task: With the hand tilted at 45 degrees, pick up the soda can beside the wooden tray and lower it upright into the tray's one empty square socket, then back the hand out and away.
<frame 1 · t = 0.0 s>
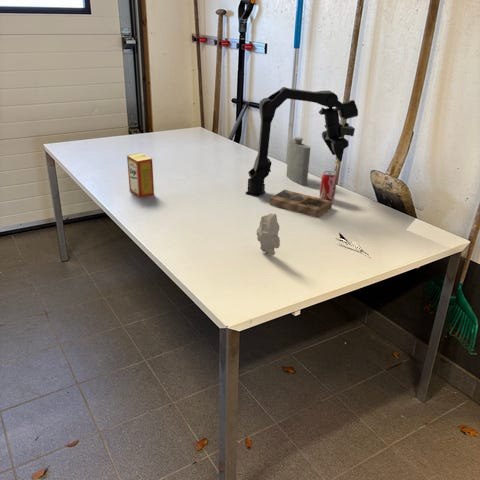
hand: (337, 158, 205), 15 cm above the table, tool pointing down, fingers open, 9 cm apart
wooden tray: (300, 206, 195), on the table
soda can: (326, 200, 203), on the table
baking soda box: (141, 193, 204), on the table
hip flask: (295, 180, 224), on the table
grey figurine: (266, 254, 158), on the table
toy airplane: (349, 246, 166), on the table
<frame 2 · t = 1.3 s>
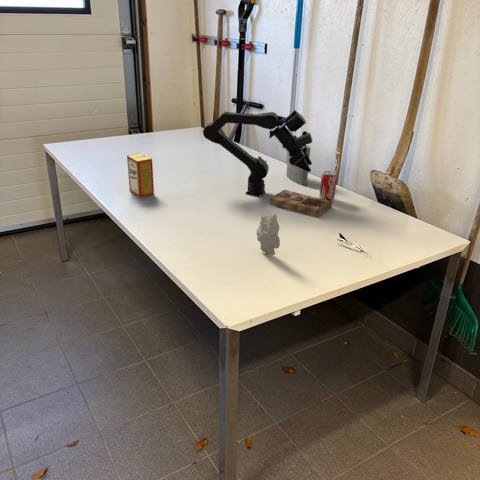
hand: (310, 167, 198), 13 cm above the table, tool tilted 45°, fingers open, 9 cm apart
nothing on the table moved.
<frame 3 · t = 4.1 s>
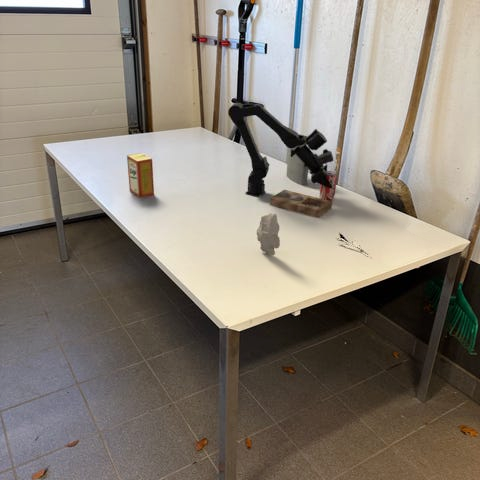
hand: (331, 185, 200), 7 cm above the table, tool tilted 45°, fingers closed on soda can, 6 cm apart
soda can: (326, 200, 203), on the table, touching gripper
everything else where it was.
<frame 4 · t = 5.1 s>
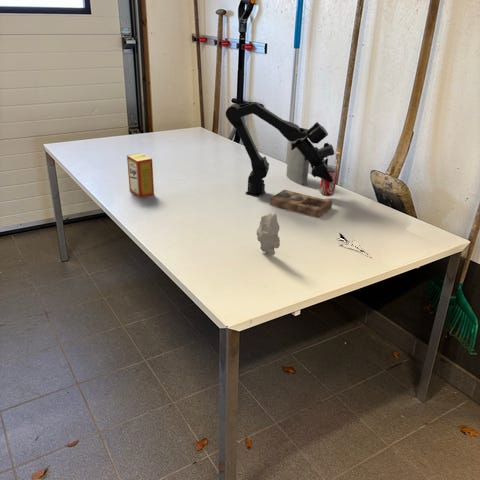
hand: (332, 179, 199), 9 cm above the table, tool tilted 45°, fingers closed on soda can, 6 cm apart
soda can: (326, 194, 203), point 2 cm above the table, touching gripper
everything else where it was.
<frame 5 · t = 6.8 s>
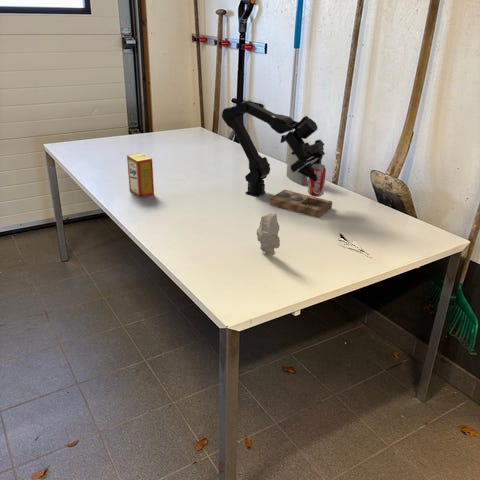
hand: (320, 178, 187), 13 cm above the table, tool tilted 45°, fingers closed on soda can, 6 cm apart
soda can: (315, 194, 191), point 6 cm above the table, touching gripper
everything else where it was.
when the fingers open (8 cm above the table, at t = 8.7 s): soda can stays where it is, resting in wooden tray.
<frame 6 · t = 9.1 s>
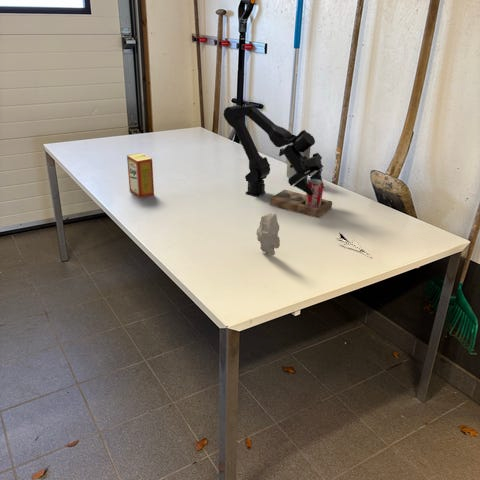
hand: (317, 191, 188), 8 cm above the table, tool tilted 45°, fingers open, 9 cm apart
soda can: (312, 209, 194), resting in wooden tray
everything else where it was.
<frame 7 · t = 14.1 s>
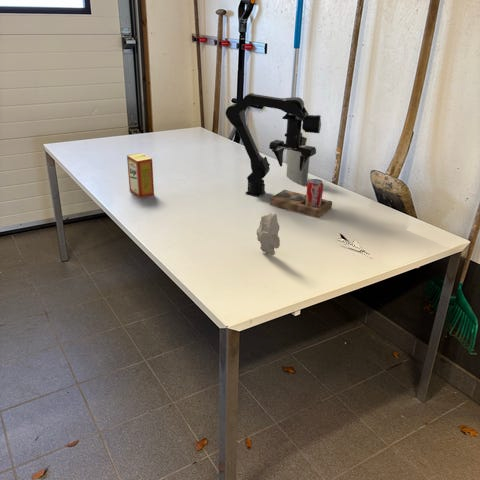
hand: (290, 168, 198), 13 cm above the table, tool pointing down, fingers open, 9 cm apart
nothing on the table moved.
at the end: soda can 0.8 cm from the target spot on the wooden tray, point 0.0 cm above the wooden tray's base; soda can tilted 0°; the gripper is holding nothing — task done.
